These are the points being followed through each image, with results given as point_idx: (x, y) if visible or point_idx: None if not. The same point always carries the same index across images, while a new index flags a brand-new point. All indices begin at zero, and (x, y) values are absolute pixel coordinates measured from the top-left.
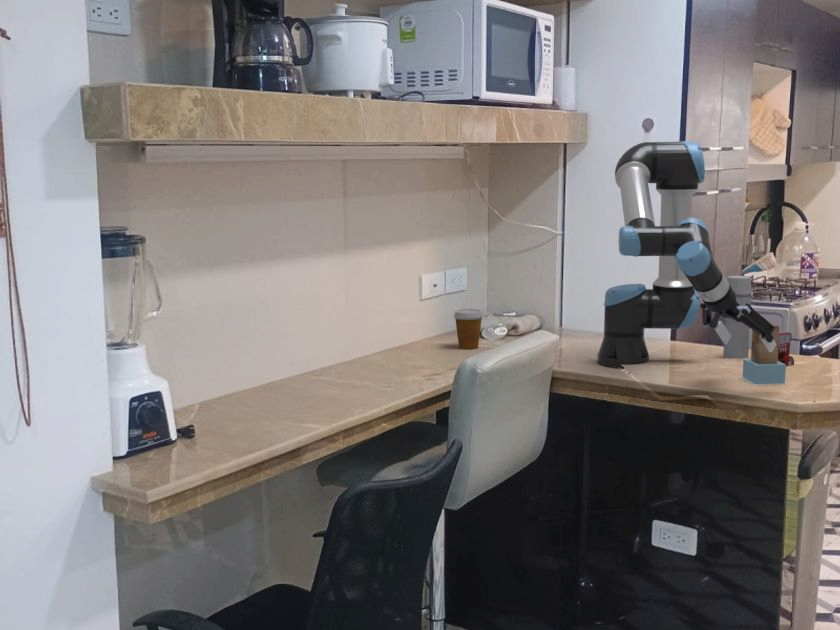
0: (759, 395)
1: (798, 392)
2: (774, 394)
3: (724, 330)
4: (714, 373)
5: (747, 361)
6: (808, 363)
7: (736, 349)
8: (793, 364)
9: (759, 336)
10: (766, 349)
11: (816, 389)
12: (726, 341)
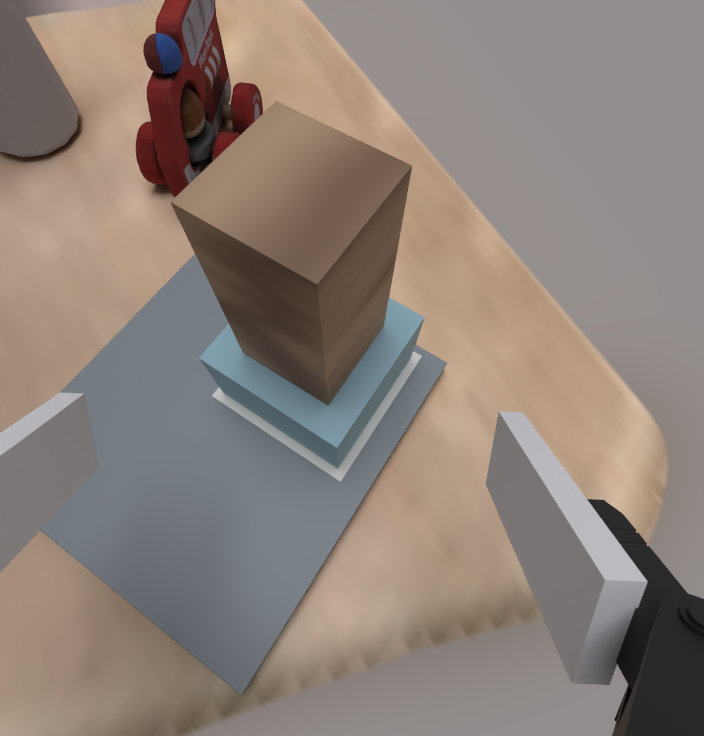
0: (419, 563)
1: (483, 385)
2: (448, 491)
3: (5, 488)
4: (61, 358)
5: (243, 387)
6: (258, 43)
7: (23, 112)
8: (262, 107)
9: (575, 681)
10: (351, 339)
11: (490, 298)
12: (84, 468)
